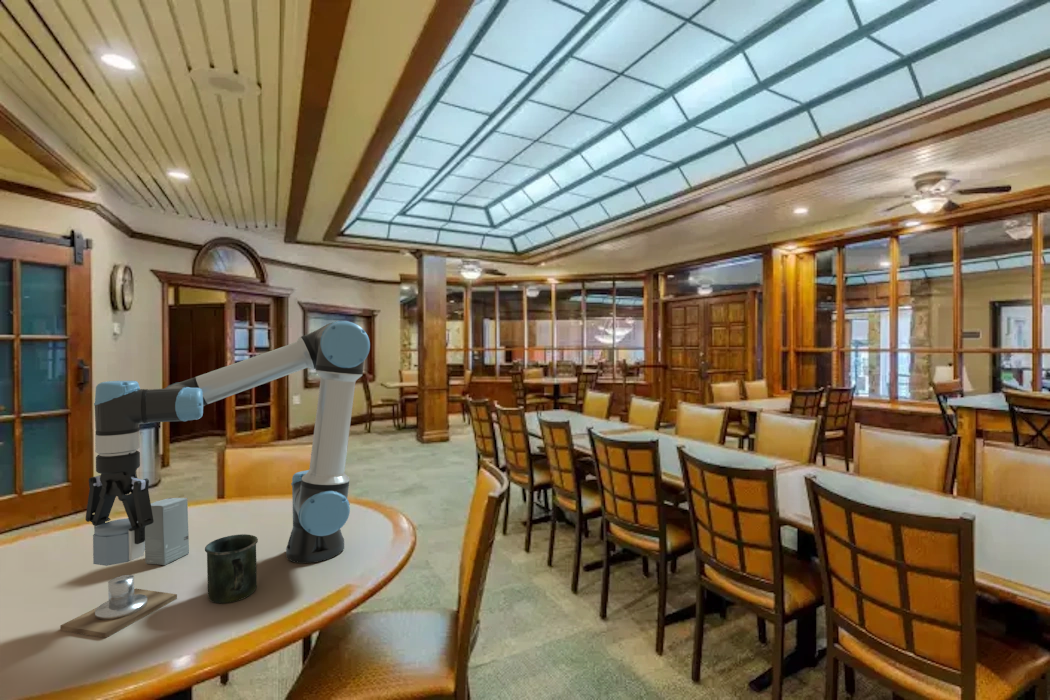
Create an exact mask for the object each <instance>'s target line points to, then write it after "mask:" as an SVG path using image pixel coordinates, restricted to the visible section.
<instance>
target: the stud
mask: <svg viewBox="0 0 1050 700" xmlns="http://www.w3.org/2000/svg"><path fill="white" fill-rule="evenodd" d="M107 582H108V583H107V585H108V586H107V587H108V589H107V590H108V600H107V601H105V602H104V603H101V604H100V605H99V606H97V607H95V608H96V610H95V618H96V619H98V620H114V619H119V618H123V617H126V616H129V615H132V614H134V613H136V612H138V611H140V610H142V609H143V608H144V607H145V606H146V605H147V596H145V595H142V594H134V589H135V576H134V575H132V574H123V575H120V576H116V577H114V578H113V577H112V579H110V580H109V581H107Z"/></svg>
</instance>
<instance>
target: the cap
mask: <svg viewBox="0 0 1050 700" xmlns="http://www.w3.org/2000/svg"><path fill="white" fill-rule="evenodd" d="M137 523H138V521H137ZM130 528H132V527H131V524H130V521H129V519H128V517H126V518H120V519H115V520H110V521H107V522H105V523H103V524H101V525H99V526H97V527H95V529H94V531H93V532H94V533H93V535H92V553H93V555H92V556H93V561H92V562H93V563H92V564H93V565H98V566H105V567H107V566H113V565H119V564H124V563H129V562H132V561H131V560H129V533H128V530H129V529H130ZM144 551H145V541H144Z"/></svg>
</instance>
